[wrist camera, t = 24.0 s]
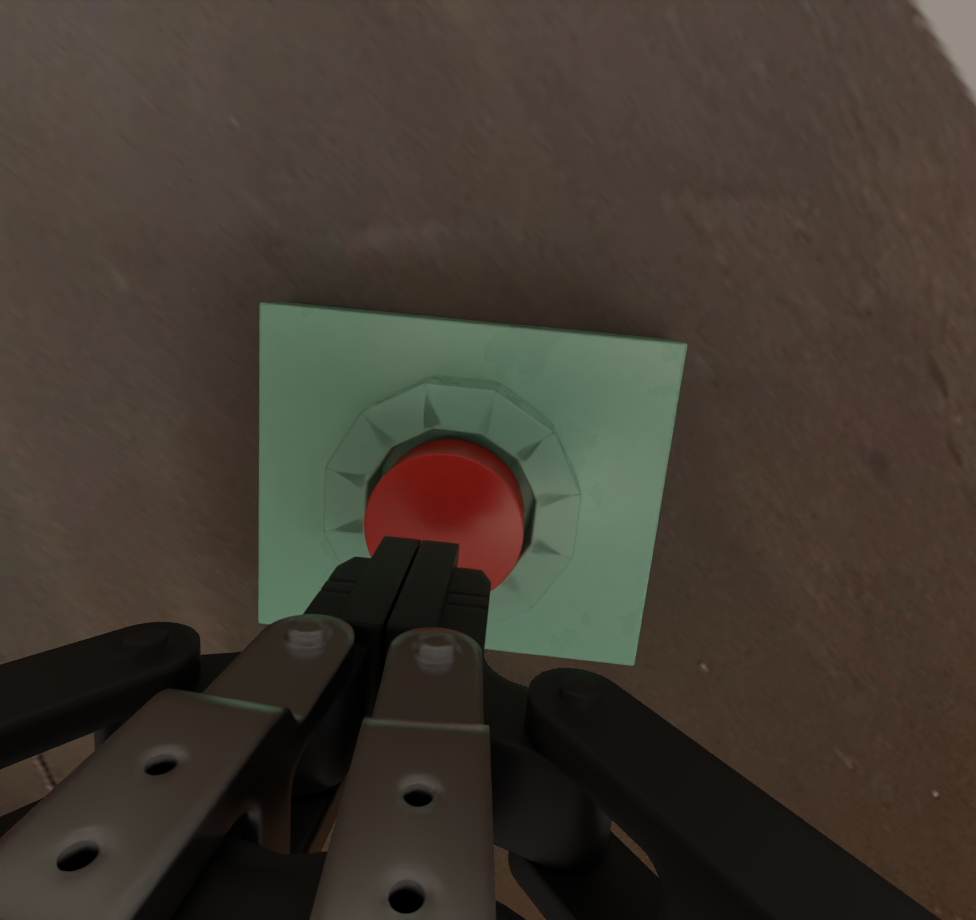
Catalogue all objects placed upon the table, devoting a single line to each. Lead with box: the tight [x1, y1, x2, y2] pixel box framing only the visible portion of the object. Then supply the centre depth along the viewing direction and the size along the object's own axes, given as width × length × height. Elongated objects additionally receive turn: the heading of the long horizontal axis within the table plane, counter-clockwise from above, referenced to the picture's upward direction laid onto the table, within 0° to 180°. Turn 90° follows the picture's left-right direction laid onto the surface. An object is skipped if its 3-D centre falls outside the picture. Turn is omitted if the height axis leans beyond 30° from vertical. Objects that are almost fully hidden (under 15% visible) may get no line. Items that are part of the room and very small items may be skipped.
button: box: [364, 438, 524, 591], centre depth 17 cm, size 4×4×2 cm
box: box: [258, 302, 687, 666], centre depth 19 cm, size 12×10×4 cm
